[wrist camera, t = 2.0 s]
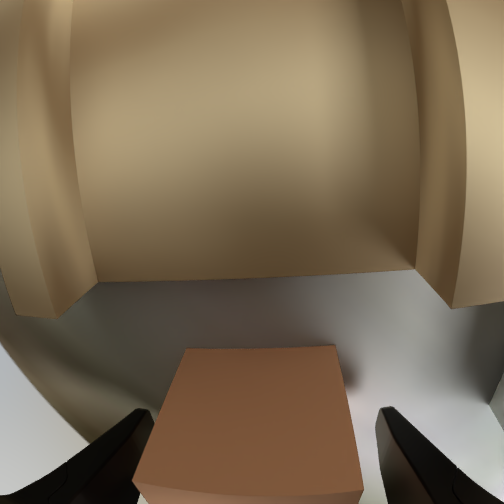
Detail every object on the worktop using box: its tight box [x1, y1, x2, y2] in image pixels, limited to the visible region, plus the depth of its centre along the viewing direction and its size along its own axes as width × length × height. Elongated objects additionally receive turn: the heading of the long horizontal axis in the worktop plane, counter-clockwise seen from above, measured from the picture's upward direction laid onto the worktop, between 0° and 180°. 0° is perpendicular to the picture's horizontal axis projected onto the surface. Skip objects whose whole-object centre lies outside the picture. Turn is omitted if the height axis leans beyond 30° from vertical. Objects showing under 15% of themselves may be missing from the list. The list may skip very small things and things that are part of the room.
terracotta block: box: [132, 345, 364, 504], centre depth 8 cm, size 4×4×5 cm
